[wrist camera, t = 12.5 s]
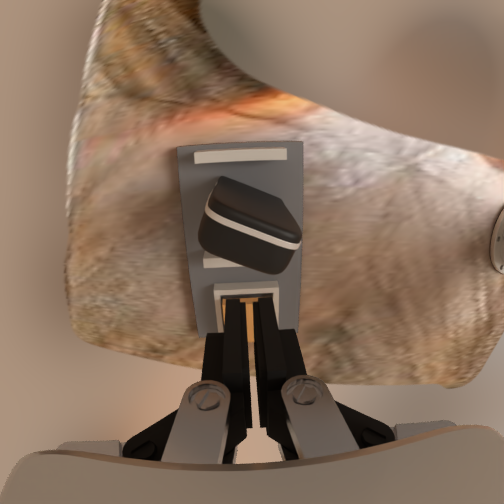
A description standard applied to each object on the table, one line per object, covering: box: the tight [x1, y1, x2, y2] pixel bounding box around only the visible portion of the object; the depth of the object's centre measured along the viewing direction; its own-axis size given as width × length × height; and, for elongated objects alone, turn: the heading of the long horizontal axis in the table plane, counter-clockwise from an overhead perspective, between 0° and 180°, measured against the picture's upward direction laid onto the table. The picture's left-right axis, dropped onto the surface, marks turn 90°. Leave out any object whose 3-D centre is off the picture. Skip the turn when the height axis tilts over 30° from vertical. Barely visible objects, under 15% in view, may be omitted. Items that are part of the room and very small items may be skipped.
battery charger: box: [198, 176, 302, 275], centre depth 24 cm, size 7×4×11 cm, turn 67°
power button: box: [222, 297, 261, 342], centre depth 32 cm, size 5×5×1 cm
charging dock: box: [177, 141, 303, 338], centre depth 31 cm, size 12×22×4 cm, turn 2°
